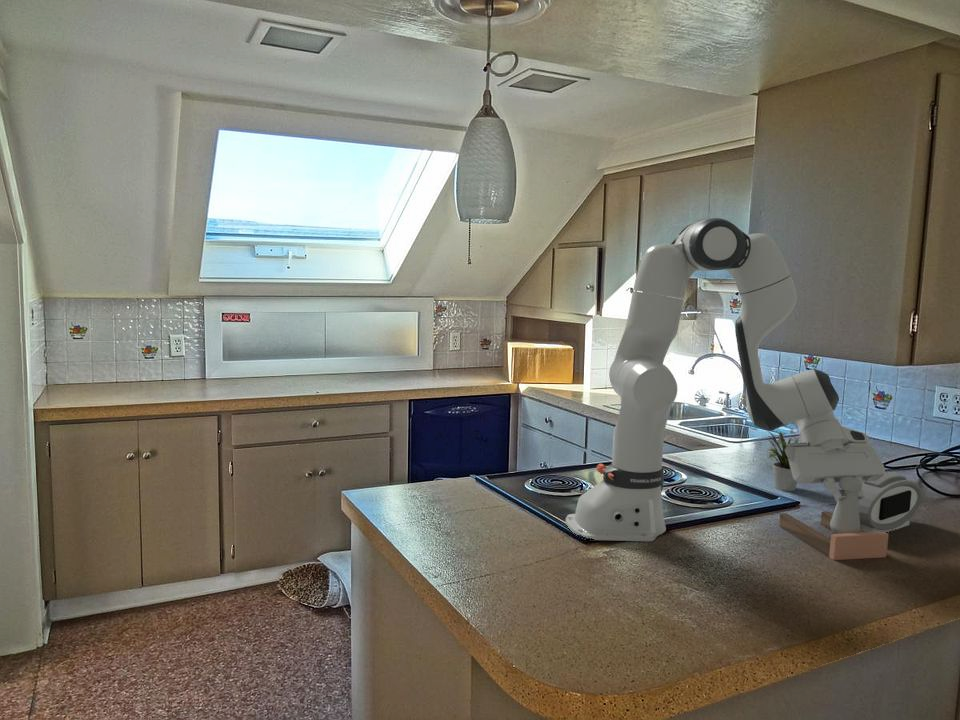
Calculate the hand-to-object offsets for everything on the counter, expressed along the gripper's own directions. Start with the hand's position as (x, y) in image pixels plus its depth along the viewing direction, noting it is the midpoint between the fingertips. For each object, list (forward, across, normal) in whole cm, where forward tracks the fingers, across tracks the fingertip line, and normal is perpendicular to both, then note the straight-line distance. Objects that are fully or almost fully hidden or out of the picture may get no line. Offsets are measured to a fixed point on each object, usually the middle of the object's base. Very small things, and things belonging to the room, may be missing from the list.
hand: (850, 499), depth 155 cm
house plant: (-22, +11, +38) cm, 45 cm away
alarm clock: (+1, +17, +16) cm, 23 cm away
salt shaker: (+5, 0, +7) cm, 9 cm away
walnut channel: (+4, 0, +12) cm, 13 cm away
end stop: (+11, 0, +5) cm, 12 cm away
